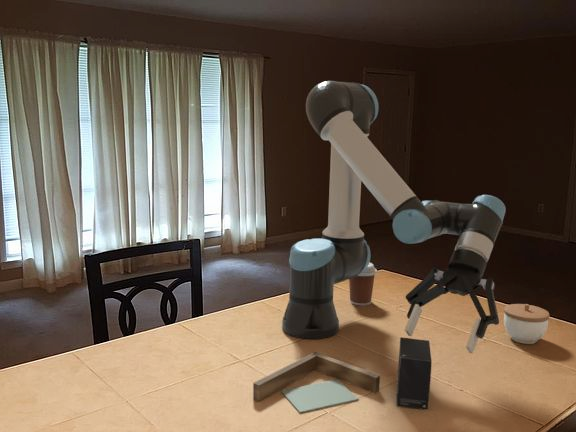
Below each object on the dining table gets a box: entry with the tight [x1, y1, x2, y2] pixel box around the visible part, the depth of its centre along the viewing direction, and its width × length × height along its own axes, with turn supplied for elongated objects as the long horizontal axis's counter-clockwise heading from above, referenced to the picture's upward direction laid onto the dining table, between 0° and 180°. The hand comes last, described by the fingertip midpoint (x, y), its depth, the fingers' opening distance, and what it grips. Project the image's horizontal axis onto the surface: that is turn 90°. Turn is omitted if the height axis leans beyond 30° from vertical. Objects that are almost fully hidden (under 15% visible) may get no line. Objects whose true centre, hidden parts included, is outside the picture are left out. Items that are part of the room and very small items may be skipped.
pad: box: [280, 378, 359, 414], centre depth 113 cm, size 9×13×1 cm
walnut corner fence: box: [252, 351, 381, 402], centre depth 113 cm, size 17×20×4 cm
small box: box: [395, 336, 432, 410], centre depth 112 cm, size 11×6×10 cm, turn 168°
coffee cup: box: [348, 262, 378, 307], centre depth 168 cm, size 9×9×12 cm
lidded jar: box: [503, 303, 550, 345], centre depth 142 cm, size 11×11×9 cm
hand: (437, 341), depth 115 cm, fingers open, 13 cm apart
